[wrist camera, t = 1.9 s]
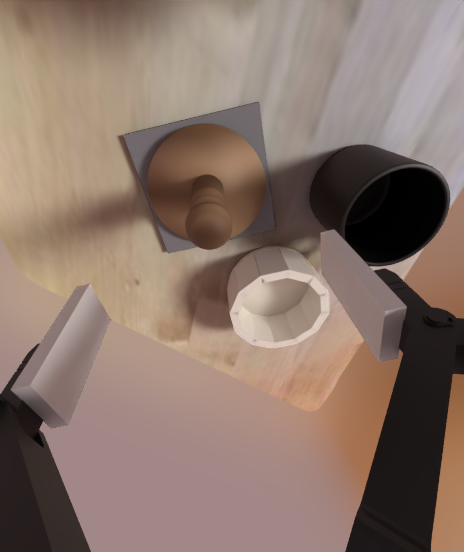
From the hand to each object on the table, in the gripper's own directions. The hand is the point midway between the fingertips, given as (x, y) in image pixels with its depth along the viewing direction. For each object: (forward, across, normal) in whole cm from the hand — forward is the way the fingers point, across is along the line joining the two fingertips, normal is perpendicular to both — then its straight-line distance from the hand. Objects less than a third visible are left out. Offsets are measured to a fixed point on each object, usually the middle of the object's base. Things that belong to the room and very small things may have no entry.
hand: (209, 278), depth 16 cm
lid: (+17, 0, 0) cm, 17 cm away
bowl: (+18, +5, -14) cm, 23 cm away
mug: (+18, +16, -5) cm, 24 cm away
